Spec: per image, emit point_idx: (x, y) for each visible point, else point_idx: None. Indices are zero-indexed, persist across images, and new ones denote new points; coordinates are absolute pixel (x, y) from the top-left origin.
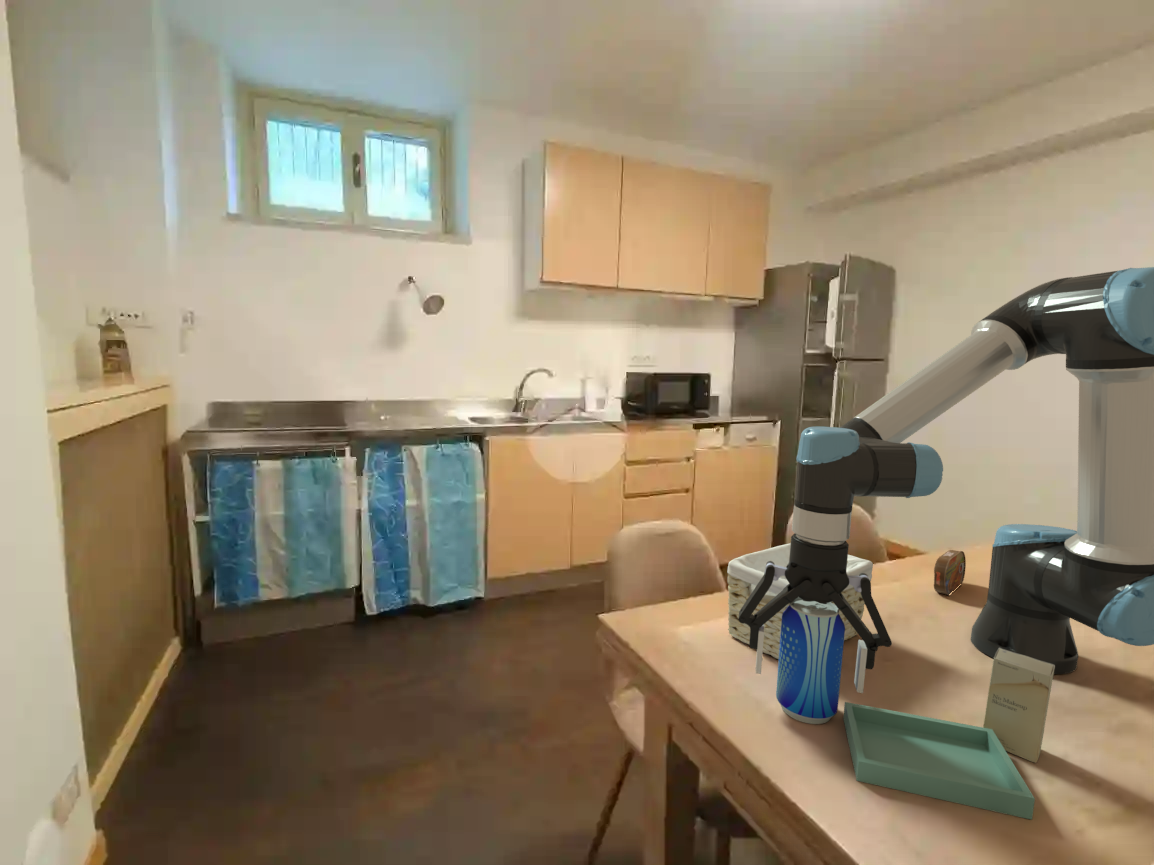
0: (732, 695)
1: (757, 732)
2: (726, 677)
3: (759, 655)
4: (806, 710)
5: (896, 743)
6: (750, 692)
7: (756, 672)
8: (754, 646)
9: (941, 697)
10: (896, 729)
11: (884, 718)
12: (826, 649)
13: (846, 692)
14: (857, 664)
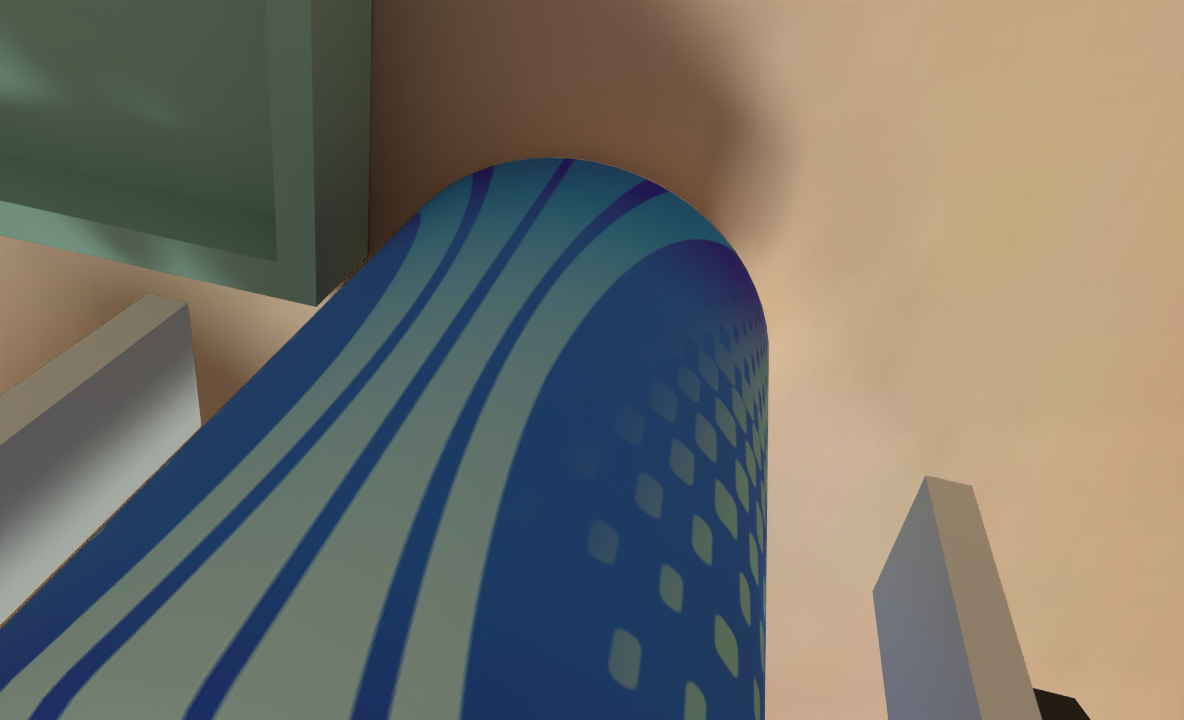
0: (1044, 426)
1: (1019, 8)
2: (1009, 596)
3: (984, 611)
4: (604, 184)
5: (76, 4)
6: (898, 463)
7: (966, 489)
8: (1041, 713)
9: None
10: (73, 156)
11: (108, 203)
12: (222, 502)
13: None
14: (73, 491)
